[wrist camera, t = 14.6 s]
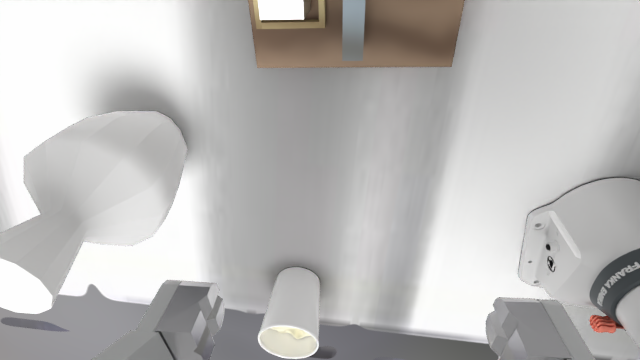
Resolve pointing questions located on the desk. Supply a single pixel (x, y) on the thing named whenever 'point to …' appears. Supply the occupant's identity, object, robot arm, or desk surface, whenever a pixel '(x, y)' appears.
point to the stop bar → (283, 9)
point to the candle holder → (292, 315)
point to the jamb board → (380, 36)
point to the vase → (89, 199)
